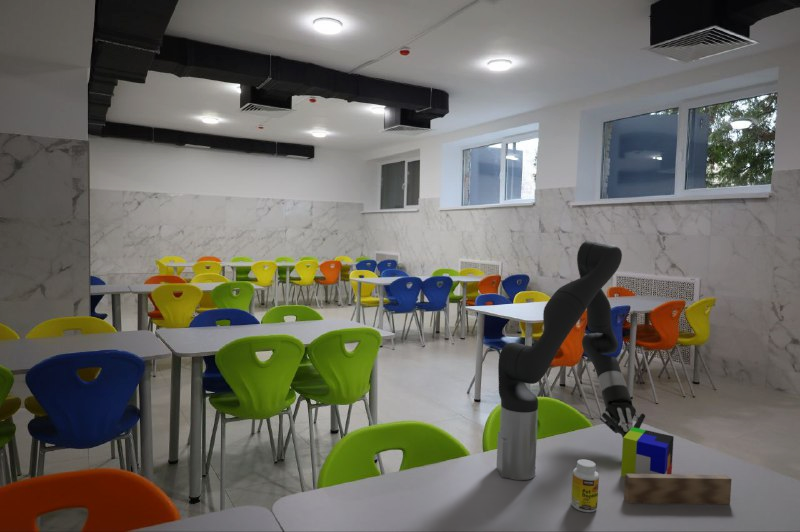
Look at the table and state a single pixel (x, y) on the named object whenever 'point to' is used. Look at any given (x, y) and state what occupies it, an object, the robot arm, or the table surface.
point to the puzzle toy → (646, 452)
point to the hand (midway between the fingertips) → (631, 446)
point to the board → (677, 488)
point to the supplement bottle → (585, 486)
